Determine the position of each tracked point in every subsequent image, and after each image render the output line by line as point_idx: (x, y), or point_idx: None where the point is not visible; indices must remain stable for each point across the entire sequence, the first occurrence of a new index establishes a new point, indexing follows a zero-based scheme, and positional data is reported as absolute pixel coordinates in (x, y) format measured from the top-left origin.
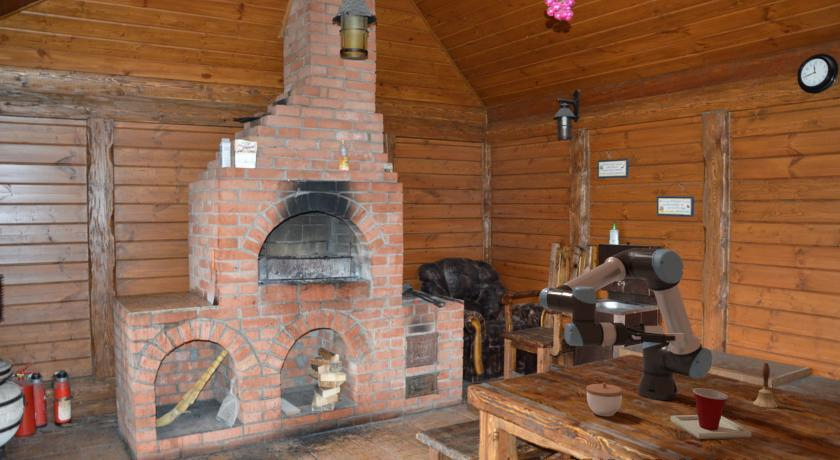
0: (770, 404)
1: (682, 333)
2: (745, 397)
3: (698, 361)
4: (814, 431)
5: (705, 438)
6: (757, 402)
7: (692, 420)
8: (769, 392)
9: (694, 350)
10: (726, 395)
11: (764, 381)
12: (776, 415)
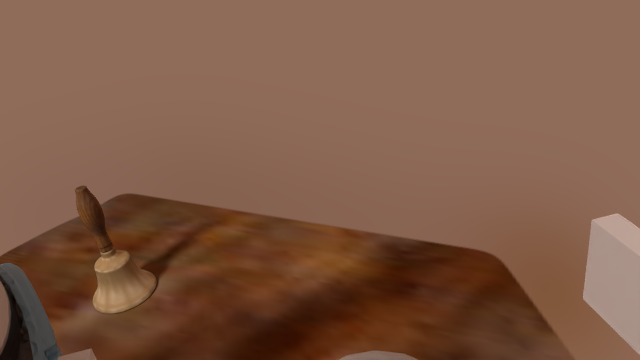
0: (147, 279)
1: (619, 221)
2: None
3: (52, 344)
4: (341, 250)
5: None
6: (121, 301)
7: None
8: (127, 255)
9: (9, 315)
10: (376, 353)
11: (102, 238)
12: (216, 288)
